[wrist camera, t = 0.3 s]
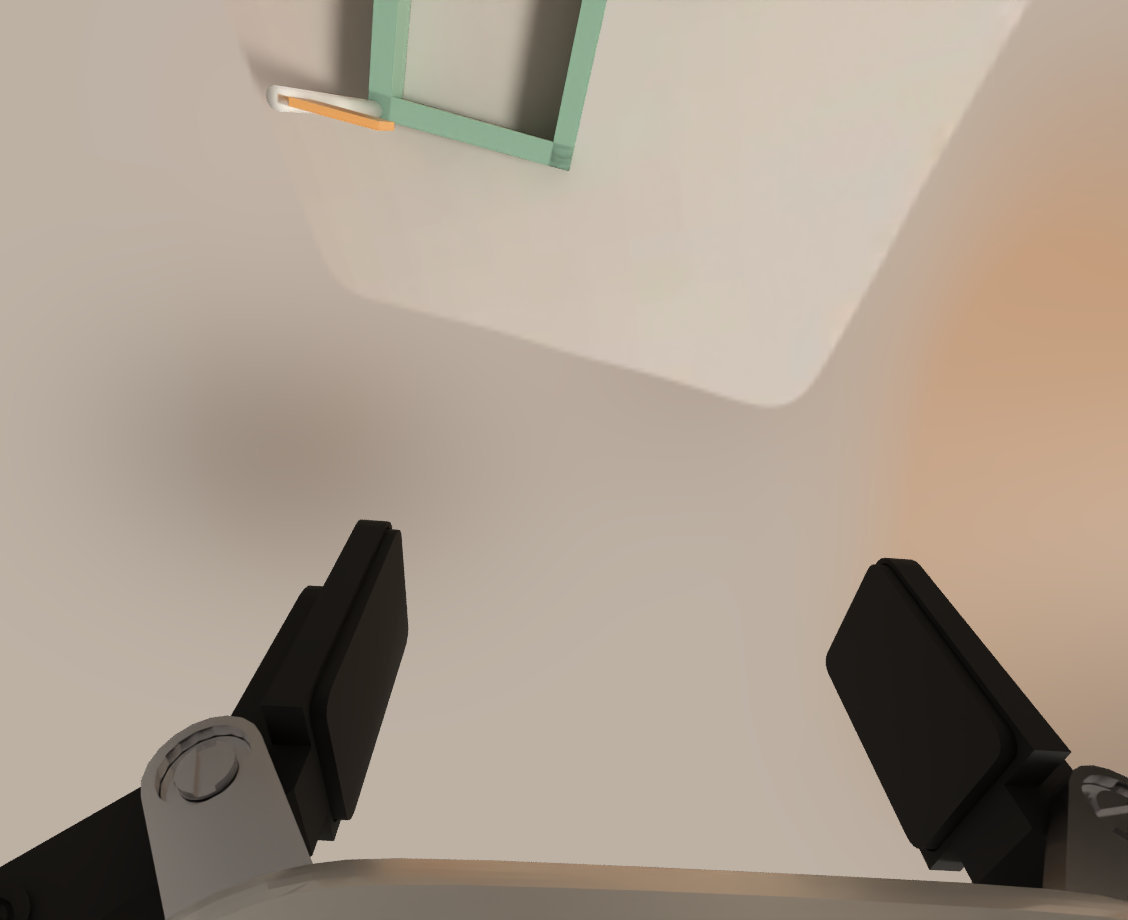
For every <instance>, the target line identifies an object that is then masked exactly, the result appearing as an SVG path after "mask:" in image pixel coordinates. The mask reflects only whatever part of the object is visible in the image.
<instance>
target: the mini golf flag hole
mask: <svg viewBox="0 0 1128 920" xmlns="http://www.w3.org/2000/svg"><path fill="white" fill-rule="evenodd" d="M606 1H607V0H582V4H581V9H580V13H579V18H578V23H577V28H576V33H575V38H574V43H573V48H572V53H571V58H570V63H569V67H568V72H567V77H566V82H565V87H564V92H563V97H562V102H561V107H560V112H559V117H558V121H557V126H556V131H555V136H554V141H551V140H547V139H544V138H540V137H537V136H533V135H530V134H526V133H523V132H519V131H515V130H512V129H508V128H505V127H501V126H498V125H494V124H490V123H487V122H483V121H480V120H476V119H473V118H469V117H465V116H462V115H458V114H455V113H451V112H448V111H444V110H440V109H437V108H433V107H430V106H426V105H423V104H419V103H416V102H412V101H408V100H405V99H403V90H404V78H405V66H406V53H407V41H408V29H409V17H410V5H411V0H374V4H373V22H372V40H371V58H370V76H369V94H368V100H366V99H360V98H354V97H348V96H341V95H335V94H329V93H322V92H316V91H310V90H304V89H297V88H291V87H285V86H278V85H272V86H270V87H269V88H268V89H267V92H266V98H267V101H268V103H269V105H270V106H271V107H272V108H273V109H274V110H276V111H281V112H296V113H310V114H319V115H323V116H327V117H330V118H334V119H338V120H341V121H345V122H349V123H352V124H356V125H360V126H363V127H367V128H371V129H374V130H378V131H394V123H395V124H399V125H403V126H406V127H410V128H414V129H417V130H421V131H424V132H428V133H432V134H435V135H439V136H443V137H446V138H450V139H454V140H457V141H461V142H465V143H468V144H472V145H475V146H479V147H483V148H486V149H490V150H494V151H497V152H501V153H505V154H508V155H512V156H515V157H519V158H523V159H526V160H530V161H534V162H537V163H541V164H545V165H548V166H552V167H555V168H559V169H563V170H566V171H569V169H570V164H571V160H572V155H573V151H574V146H575V141H576V137H577V132H578V128H579V123H580V119H581V114H582V110H583V105H584V101H585V96H586V92H587V87H588V83H589V78H590V74H591V69H592V65H593V60H594V56H595V51H596V47H597V42H598V38H599V33H600V28H601V24H602V19H603V15H604V10H605V6H606Z"/></svg>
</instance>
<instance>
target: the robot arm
mask: <svg viewBox="0 0 1128 920" xmlns="http://www.w3.org/2000/svg"><path fill="white" fill-rule="evenodd" d="M407 637H408V618H407V604H406V590H405V578H404V563H403V551H402V537H401V532H400V530H393V529H392V525H391V523H390V522H387V521H373V520H359V521H358V522H357V524H356V525H355V527H354V529H353V531H352V533H351V535H350V537H349V539H348V541H347V543H346V545H345V546H344V548H343V550H342V552H341V554H340V556H339V558H338V559H337V561H336V563H335V565H334V567H333V569H332V571H331V573H330V575H329V576H328V578H327V580H326V582H325V584H324V586H308V587H306V588H305V589H304V590H303V591H302V593H301V594H300V596H299V597H298V599H297V601H296V603H295V604H294V606H293V608H292V610H291V611H290V613H289V615H288V617H287V618H286V620H285V622H284V624H283V625H282V627H281V629H280V631H279V633H278V634H277V636H276V638H275V639H274V641H273V643H272V645H271V646H270V648H269V650H268V652H267V654H266V655H265V657H264V659H263V660H262V662H261V664H260V666H259V668H258V669H257V671H256V673H255V674H254V676H253V678H252V680H251V681H250V683H249V685H248V687H247V688H246V690H245V692H244V694H243V696H242V697H241V699H240V701H239V703H238V705H237V706H236V708H235V710H234V711H233V713H232V715H231V716H222V717H213V718H209V719H206V720H203V721H201V722H198V723H195V724H192V725H191V726H189V727H187V728H186V729H184V730H182V731H181V732H179V733H177V734H176V735H174V736H173V737H172V738H171V739H170V740H169V741H167V742H166V743H165V744H164V745H163V746H162V747H161V748H160V749H159V750H158V751H157V753H156V754H155V755H154V757H153V758H152V759H151V761H150V762H149V763H148V765H147V767H146V770H145V772H144V775H143V777H142V780H141V787H140V788H138V789H136V790H134V791H133V792H131V793H129V794H127V795H126V796H124V797H122V798H120V799H119V800H117V801H115V802H114V803H112V804H110V805H108V806H107V807H105V808H103V809H101V810H99V811H98V812H96V813H94V814H92V815H91V816H89V817H87V818H85V819H84V820H82V821H80V822H78V823H77V824H75V825H73V826H71V827H70V828H68V829H66V830H64V831H63V832H61V833H59V834H57V835H56V836H54V837H52V838H50V839H49V840H47V841H45V842H43V843H42V844H40V845H38V846H36V847H35V848H33V849H31V850H29V851H28V852H26V853H24V854H22V855H21V856H19V857H17V858H15V859H14V860H12V861H10V862H8V863H7V864H5V865H3V866H1V867H0V920H1128V778H1127V777H1125V776H1123V775H1121V774H1119V773H1116V772H1114V771H1111V770H1110V769H1106V768H1102V767H1098V766H1094V765H1089V766H1079V767H1078V768H1076V769H1074V770H1072V768H1071V767H1070V766H1069V765H1068V763H1067V762H1066V761H1065V759H1066V757H1067V756H1068V755H1069V754H1070V753H1071V751H1070V750H1069V749H1068V747H1067V746H1066V745H1065V744H1064V742H1063V741H1062V740H1061V739H1060V738H1059V736H1058V735H1057V734H1056V733H1055V732H1054V730H1053V729H1052V728H1051V726H1050V725H1049V724H1048V723H1047V721H1046V720H1045V719H1044V718H1043V716H1042V715H1041V714H1040V713H1039V712H1038V710H1037V709H1036V708H1035V707H1034V705H1033V704H1032V703H1031V702H1030V700H1029V699H1028V698H1027V697H1026V695H1025V694H1024V693H1023V692H1022V691H1021V690H1020V688H1019V687H1018V686H1017V684H1016V683H1015V682H1014V681H1013V679H1012V678H1011V677H1010V676H1009V675H1008V673H1007V672H1006V671H1005V670H1004V669H1003V667H1002V666H1001V665H1000V663H999V662H998V661H997V660H996V659H995V657H994V656H993V655H992V653H991V652H990V651H989V650H988V649H987V647H986V646H985V645H984V644H983V642H982V641H981V640H980V639H979V637H978V636H977V635H976V634H975V632H974V631H973V630H972V629H971V628H970V626H969V625H968V624H967V623H966V621H965V620H964V619H963V618H962V616H961V615H960V614H959V613H958V611H957V610H956V609H955V608H954V607H953V606H952V604H951V603H950V602H949V600H948V599H947V598H946V597H945V595H944V594H943V593H942V592H941V590H940V589H939V588H938V587H937V586H936V584H935V583H934V582H933V581H932V579H931V578H930V577H929V576H928V575H927V573H926V572H925V571H924V569H923V568H922V567H921V566H920V565H919V564H918V563H917V562H916V561H913V560H908V559H894V558H882V559H880V560H879V561H878V562H877V563H876V564H875V565H871V566H870V567H869V569H868V570H867V573H866V574H865V576H864V579H863V581H862V583H861V585H860V587H859V589H858V591H857V593H856V595H855V597H854V599H853V601H852V603H851V606H850V608H849V609H848V612H847V614H846V616H845V618H844V620H843V622H842V624H841V626H840V628H839V630H838V632H837V634H836V636H835V638H834V641H833V642H832V645H831V647H830V649H829V651H828V653H827V656H826V667H827V671H828V674H829V676H830V678H831V680H832V682H833V684H834V686H835V688H836V690H837V693H838V695H839V697H840V699H841V701H842V703H843V705H844V707H845V709H846V711H847V713H848V715H849V717H850V719H851V721H852V724H853V726H854V728H855V730H856V732H857V734H858V736H859V738H860V740H861V742H862V745H863V747H864V749H865V751H866V753H867V755H868V757H869V759H870V761H871V763H872V765H873V767H874V769H875V772H876V774H877V776H878V778H879V780H880V782H881V784H882V786H883V788H884V790H885V792H886V794H887V797H888V799H889V800H890V803H891V805H892V807H893V809H894V811H895V813H896V815H897V817H898V819H899V821H900V824H901V826H902V828H903V830H904V832H905V834H906V836H907V838H908V839H909V841H910V842H911V843H912V844H913V846H914V847H916V848H919V849H920V851H921V853H922V855H923V857H924V859H925V861H926V863H927V866H928V868H929V870H946V871H961V870H962V868H963V867H965V869H966V871H967V873H968V875H969V877H970V878H971V880H972V883H957V882H938V881H919V880H918V881H917V880H900V879H881V878H863V877H844V876H826V875H804V874H783V873H764V872H743V871H721V870H701V869H680V868H658V867H657V868H656V867H636V866H612V865H587V864H564V863H563V864H562V863H541V862H540V863H538V862H516V861H491V860H447V859H405V858H404V859H403V858H394V859H393V858H392V859H361V860H360V859H359V860H341V861H334V862H324V863H316V864H313V863H312V861H311V858H310V857H311V856H312V855H313V852H314V849H315V846H316V843H317V841H318V840H327V841H334V839H335V836H336V833H337V830H338V827H339V824H340V821H341V820H350V819H351V818H352V816H353V814H354V811H355V808H356V805H357V802H358V798H359V795H360V792H361V789H362V785H363V782H364V779H365V775H366V772H367V769H368V766H369V763H370V759H371V756H372V753H373V750H374V747H375V743H376V740H377V737H378V734H379V731H380V727H381V724H382V721H383V718H384V714H385V711H386V708H387V705H388V701H389V698H390V695H391V692H392V689H393V685H394V682H395V679H396V675H397V672H398V669H399V666H400V662H401V659H402V656H403V653H404V649H405V646H406V642H407Z"/></svg>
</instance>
